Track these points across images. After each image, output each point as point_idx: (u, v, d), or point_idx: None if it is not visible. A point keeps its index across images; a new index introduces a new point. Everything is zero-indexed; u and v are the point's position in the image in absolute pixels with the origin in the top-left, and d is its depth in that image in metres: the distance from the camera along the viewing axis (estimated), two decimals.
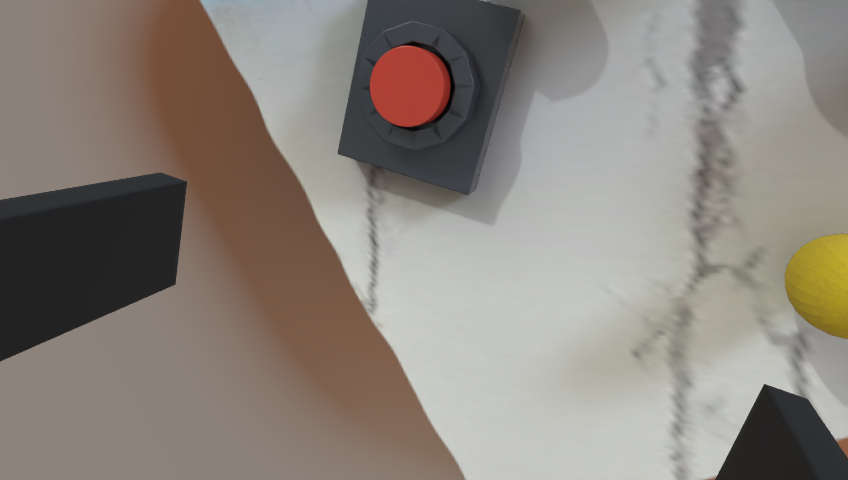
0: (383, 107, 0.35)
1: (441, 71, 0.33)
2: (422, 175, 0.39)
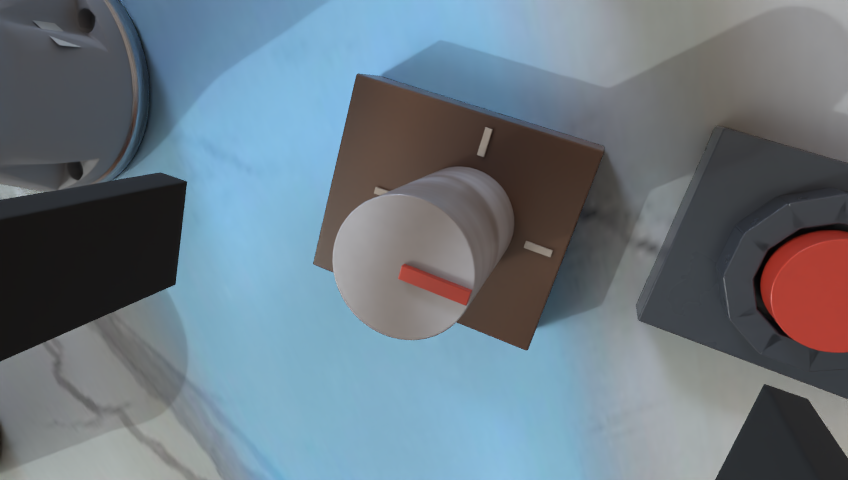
0: None
1: (823, 240, 0.22)
2: None
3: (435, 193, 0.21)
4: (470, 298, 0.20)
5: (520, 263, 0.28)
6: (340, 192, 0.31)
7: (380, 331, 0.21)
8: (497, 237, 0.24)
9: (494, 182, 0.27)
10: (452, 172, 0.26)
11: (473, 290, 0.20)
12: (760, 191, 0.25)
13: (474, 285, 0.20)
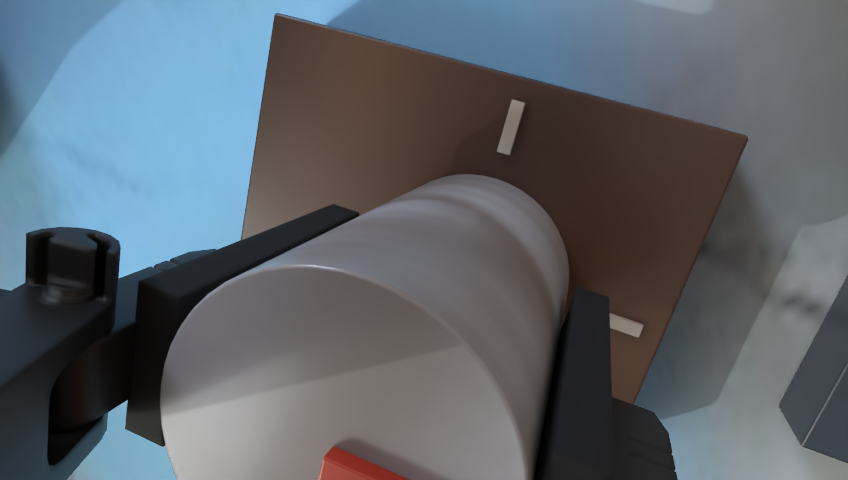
0: None
1: None
2: None
3: (412, 251, 0.08)
4: None
5: None
6: (261, 224, 0.18)
7: None
8: (555, 328, 0.11)
9: (531, 202, 0.15)
10: (452, 187, 0.13)
11: None
12: None
13: None
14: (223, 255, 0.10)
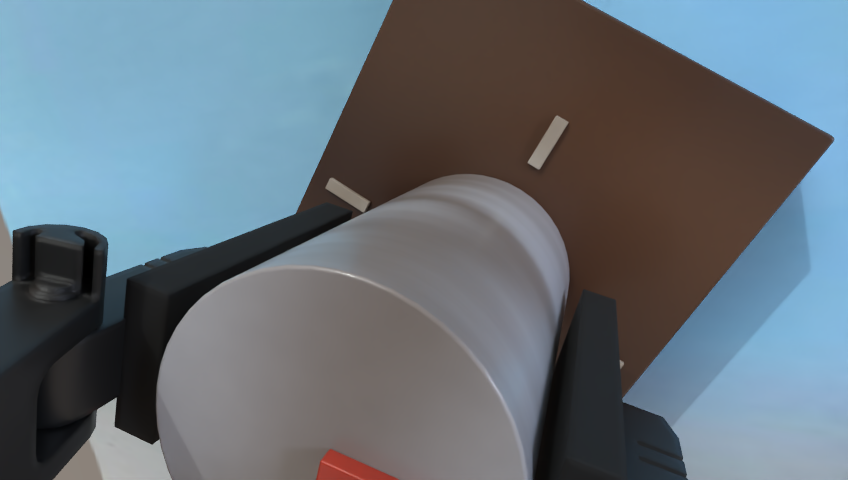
0: None
1: None
2: None
3: (410, 252, 0.08)
4: None
5: None
6: (575, 31, 0.14)
7: None
8: (555, 330, 0.11)
9: (532, 202, 0.15)
10: (452, 187, 0.13)
11: None
12: None
13: None
14: (213, 253, 0.10)
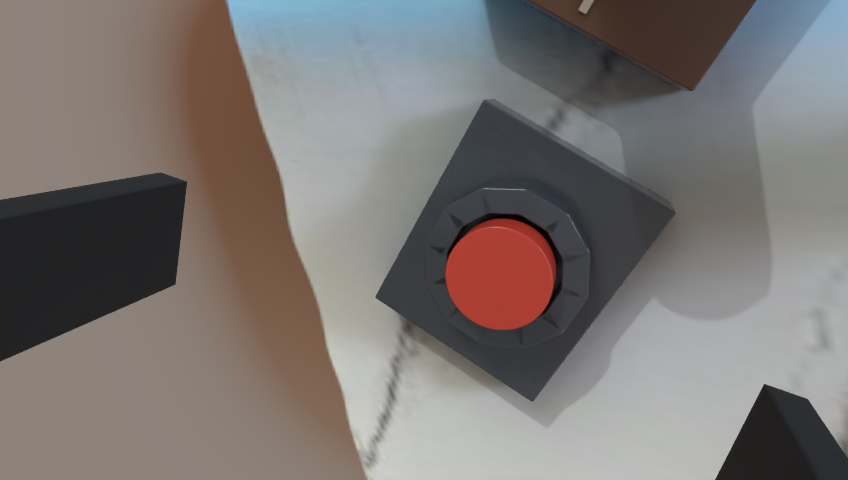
0: (458, 292, 0.25)
1: (553, 277, 0.24)
2: (479, 360, 0.29)
3: None
4: None
5: None
6: None
7: None
8: None
9: None
10: None
11: None
12: (599, 232, 0.26)
13: None
14: None
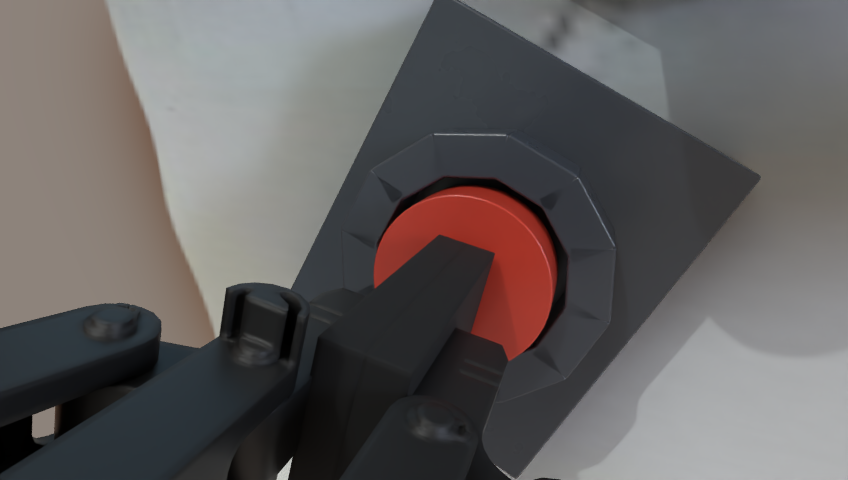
0: None
1: (552, 282, 0.14)
2: None
3: None
4: None
5: None
6: None
7: None
8: None
9: None
10: None
11: None
12: (629, 212, 0.16)
13: None
14: (376, 301, 0.10)
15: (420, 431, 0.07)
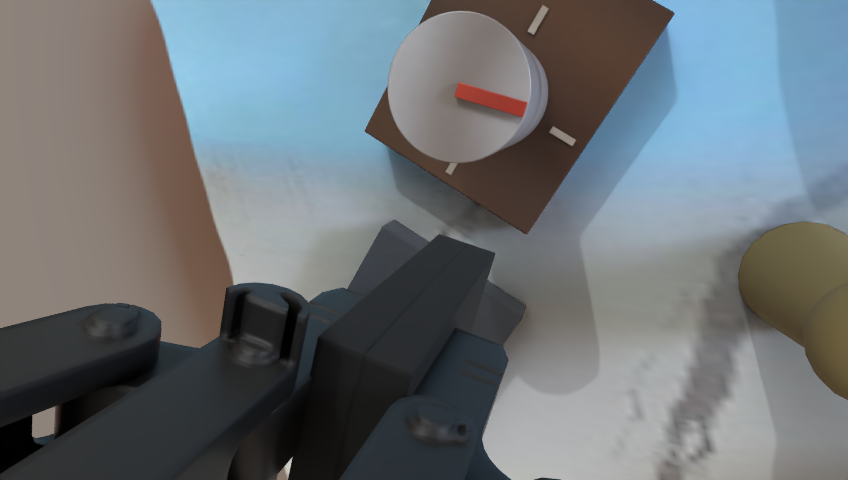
0: None
1: None
2: None
3: None
4: (525, 111, 0.21)
5: None
6: None
7: (434, 156, 0.22)
8: (540, 82, 0.24)
9: None
10: None
11: (528, 103, 0.21)
12: None
13: (529, 98, 0.21)
14: (375, 301, 0.10)
15: (421, 432, 0.07)
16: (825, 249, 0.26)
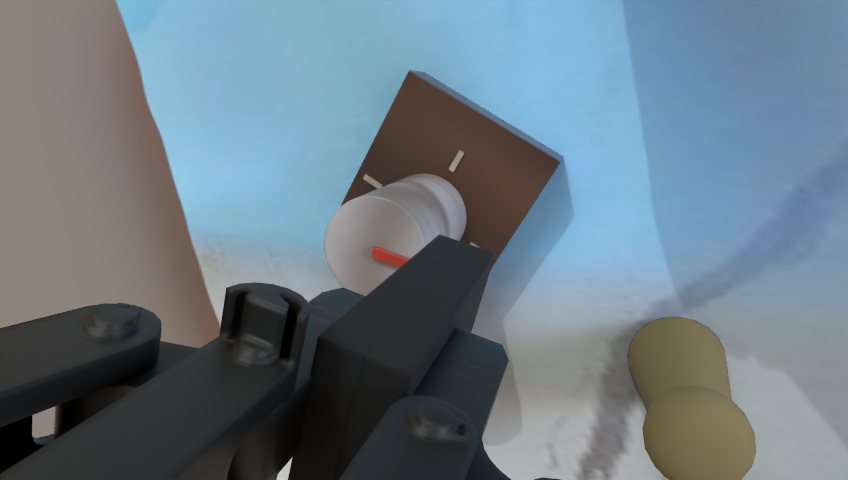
0: None
1: None
2: None
3: (397, 195, 0.29)
4: None
5: None
6: (466, 117, 0.35)
7: None
8: (447, 227, 0.32)
9: (449, 185, 0.35)
10: (415, 178, 0.34)
11: None
12: None
13: None
14: (376, 301, 0.10)
15: (420, 431, 0.07)
16: (678, 350, 0.33)
